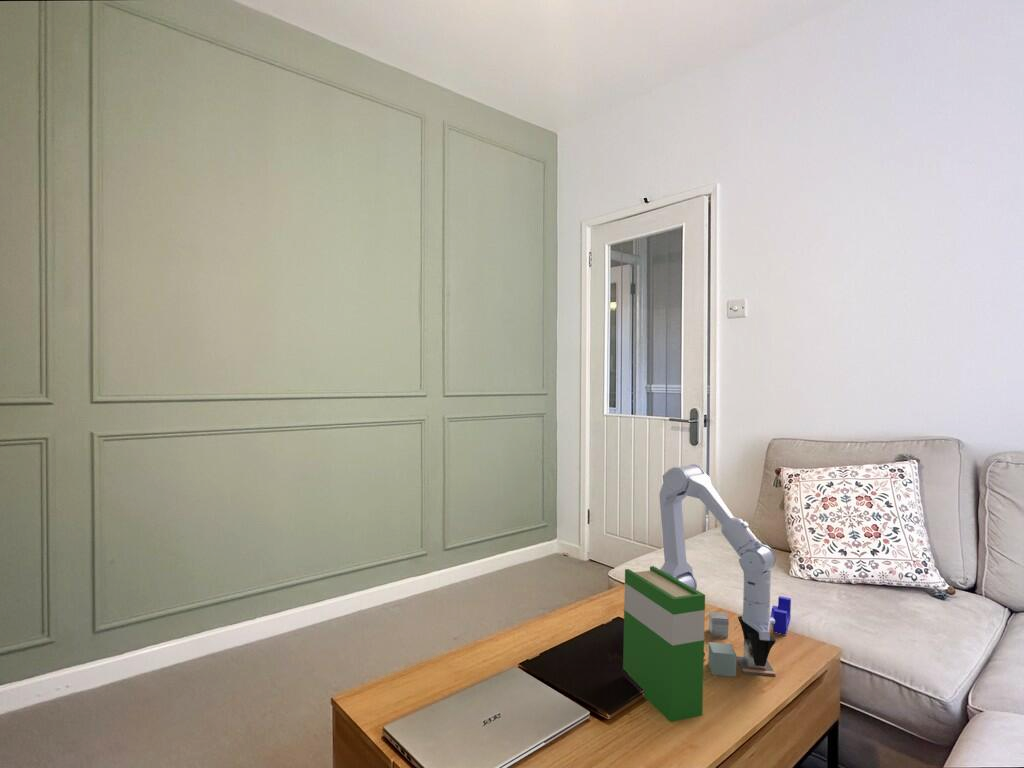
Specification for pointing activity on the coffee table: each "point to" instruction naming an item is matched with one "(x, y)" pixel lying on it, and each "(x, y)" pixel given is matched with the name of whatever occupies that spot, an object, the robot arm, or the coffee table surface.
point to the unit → (722, 659)
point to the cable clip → (781, 615)
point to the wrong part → (718, 624)
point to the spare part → (750, 656)
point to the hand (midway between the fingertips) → (755, 657)
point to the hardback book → (665, 641)
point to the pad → (755, 671)
